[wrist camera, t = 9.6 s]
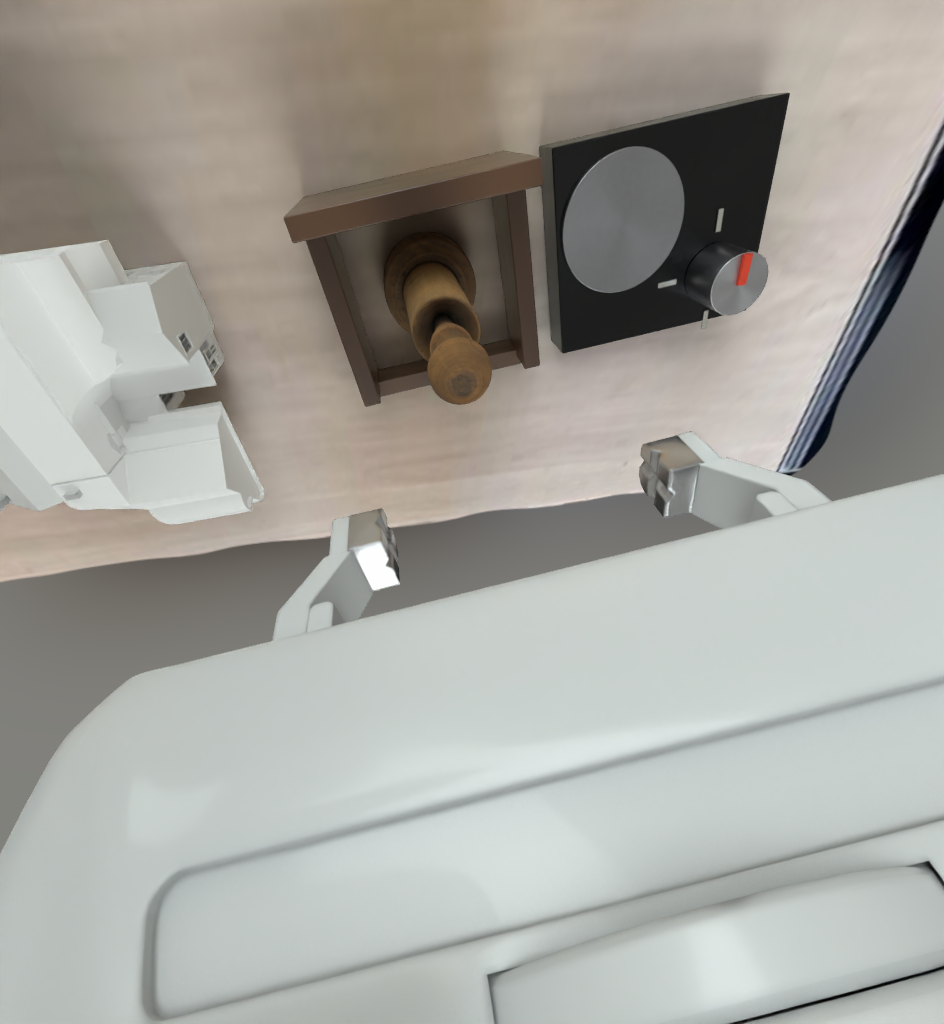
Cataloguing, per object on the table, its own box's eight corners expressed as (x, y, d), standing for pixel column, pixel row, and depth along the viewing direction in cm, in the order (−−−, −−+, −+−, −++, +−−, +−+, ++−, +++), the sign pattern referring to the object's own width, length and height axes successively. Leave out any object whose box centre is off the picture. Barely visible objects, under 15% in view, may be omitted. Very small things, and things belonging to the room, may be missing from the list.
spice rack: (368, 386, 39) (367, 441, 32) (303, 197, 30) (282, 216, 24) (524, 349, 39) (556, 396, 32) (504, 150, 31) (541, 156, 24)
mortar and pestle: (464, 333, 38) (516, 451, 24) (381, 323, 36) (386, 444, 22) (478, 239, 33) (550, 316, 20) (385, 224, 32) (395, 296, 18)
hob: (551, 347, 39) (563, 362, 37) (538, 146, 31) (552, 147, 28) (730, 305, 40) (753, 316, 37) (768, 92, 31) (802, 89, 28)
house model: (-160, 270, 29) (-347, 319, 21) (170, 223, 30) (102, 254, 23) (48, 505, 41) (-25, 589, 34) (278, 465, 42) (257, 538, 35)
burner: (563, 303, 34) (565, 304, 34) (557, 162, 29) (559, 163, 29) (674, 277, 34) (677, 278, 34) (689, 132, 29) (692, 132, 29)
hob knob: (730, 296, 36) (761, 311, 33) (680, 305, 36) (707, 321, 33) (743, 237, 33) (779, 248, 30) (690, 247, 33) (720, 258, 30)
